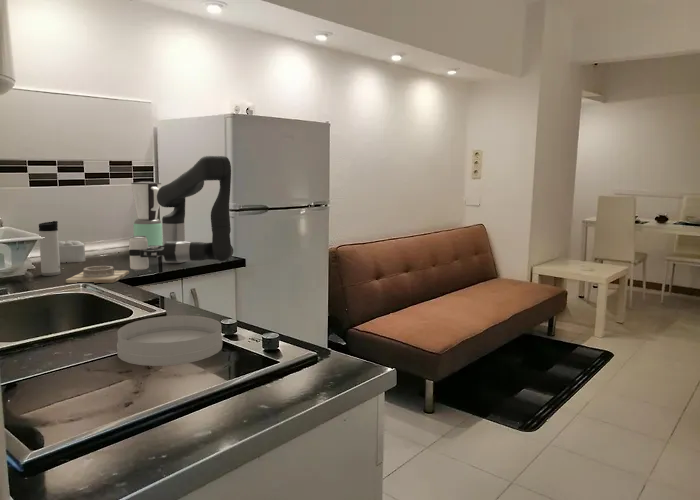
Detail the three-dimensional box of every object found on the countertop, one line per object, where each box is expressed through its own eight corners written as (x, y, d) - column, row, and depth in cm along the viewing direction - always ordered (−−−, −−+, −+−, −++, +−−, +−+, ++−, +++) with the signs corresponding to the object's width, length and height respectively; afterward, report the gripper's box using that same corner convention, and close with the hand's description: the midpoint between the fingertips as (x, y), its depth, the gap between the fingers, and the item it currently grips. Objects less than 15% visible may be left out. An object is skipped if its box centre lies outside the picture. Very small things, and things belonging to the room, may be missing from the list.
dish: (239, 339, 127) (238, 318, 127) (191, 371, 106) (191, 347, 105) (155, 332, 132) (154, 312, 132) (93, 361, 111) (92, 338, 110)
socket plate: (85, 273, 206) (85, 264, 206) (129, 273, 208) (128, 264, 207) (66, 282, 188) (65, 272, 188) (113, 282, 190) (113, 272, 190)
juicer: (127, 253, 262) (124, 180, 257) (152, 250, 271) (150, 180, 267) (146, 257, 249) (144, 181, 244) (172, 254, 259) (170, 181, 254)
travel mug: (64, 273, 206) (62, 221, 203) (49, 276, 200) (45, 222, 197) (53, 272, 208) (50, 220, 206) (37, 274, 202) (34, 221, 200)
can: (142, 270, 198) (141, 238, 196) (126, 269, 199) (125, 237, 197) (152, 267, 204) (151, 236, 202) (136, 266, 205) (135, 235, 204)
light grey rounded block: (85, 261, 235) (84, 241, 234) (51, 263, 229) (50, 243, 228) (85, 258, 244) (84, 239, 243) (52, 259, 238) (51, 240, 237)
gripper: (182, 238, 209) (137, 238, 207) (174, 244, 195) (126, 243, 193) (182, 258, 210) (138, 258, 208) (174, 264, 196) (126, 264, 194)
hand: (132, 251), depth 200 cm, fingers closed on can, 6 cm apart
